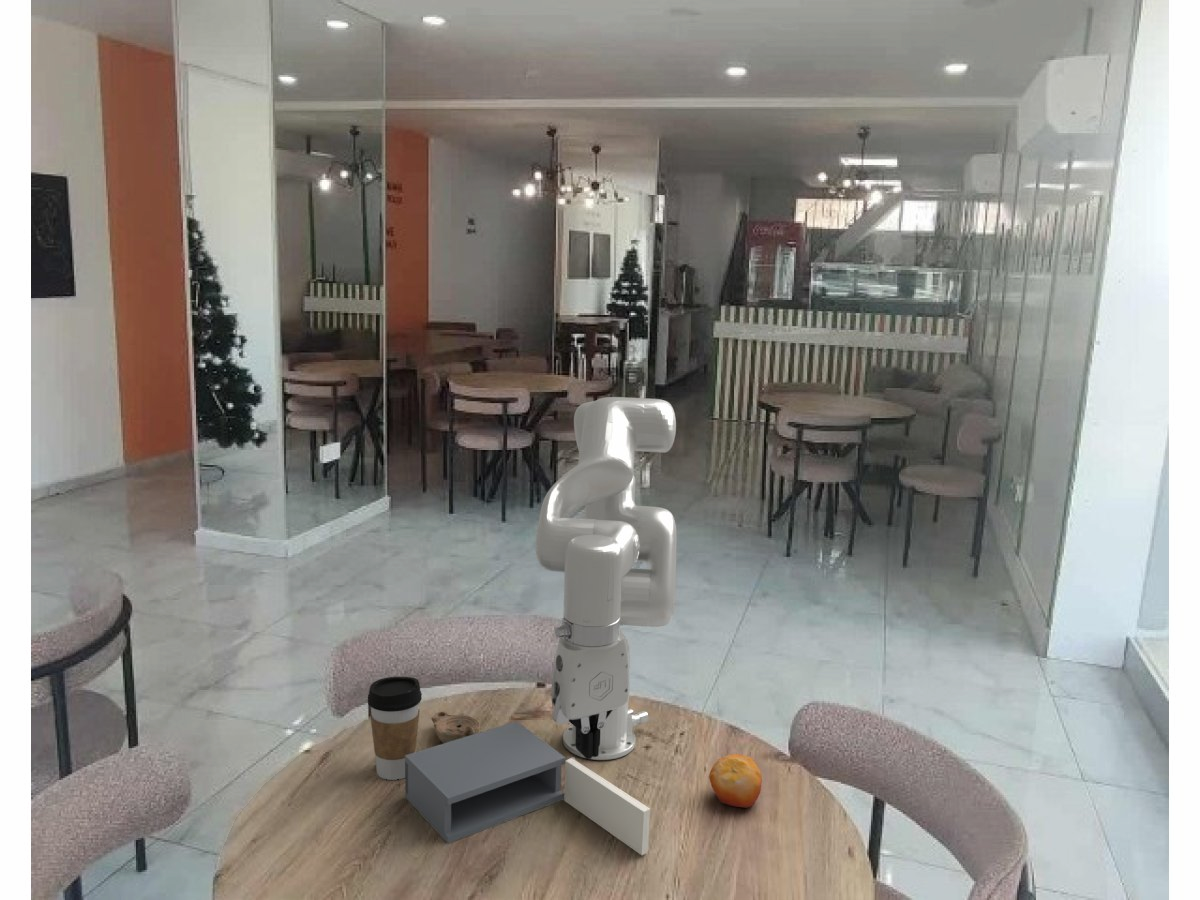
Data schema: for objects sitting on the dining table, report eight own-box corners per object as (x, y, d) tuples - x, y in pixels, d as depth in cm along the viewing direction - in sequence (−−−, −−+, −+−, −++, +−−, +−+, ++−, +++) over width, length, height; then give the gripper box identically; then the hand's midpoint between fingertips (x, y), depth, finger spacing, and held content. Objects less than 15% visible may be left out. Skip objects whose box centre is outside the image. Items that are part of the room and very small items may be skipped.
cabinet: (516, 759, 150) (517, 720, 149) (564, 799, 139) (565, 757, 138) (405, 797, 138) (405, 755, 137) (447, 843, 127) (448, 798, 126)
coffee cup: (409, 788, 141) (409, 698, 138) (359, 780, 143) (357, 692, 140) (429, 760, 149) (429, 675, 146) (382, 754, 151) (381, 669, 148)
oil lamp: (421, 731, 159) (421, 705, 158) (459, 720, 163) (460, 694, 162) (455, 764, 149) (456, 736, 148) (495, 751, 153) (496, 724, 152)
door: (562, 799, 139) (563, 759, 138) (573, 794, 140) (574, 754, 139) (641, 855, 126) (643, 811, 125) (653, 849, 127) (655, 806, 126)
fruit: (770, 780, 144) (766, 752, 139) (757, 825, 139) (752, 798, 134) (721, 767, 147) (716, 740, 142) (707, 811, 142) (701, 784, 137)
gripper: (556, 651, 112) (553, 782, 116) (653, 627, 120) (647, 751, 124) (528, 629, 119) (526, 754, 123) (622, 608, 126) (618, 727, 130)
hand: (587, 752), depth 123 cm, fingers closed
